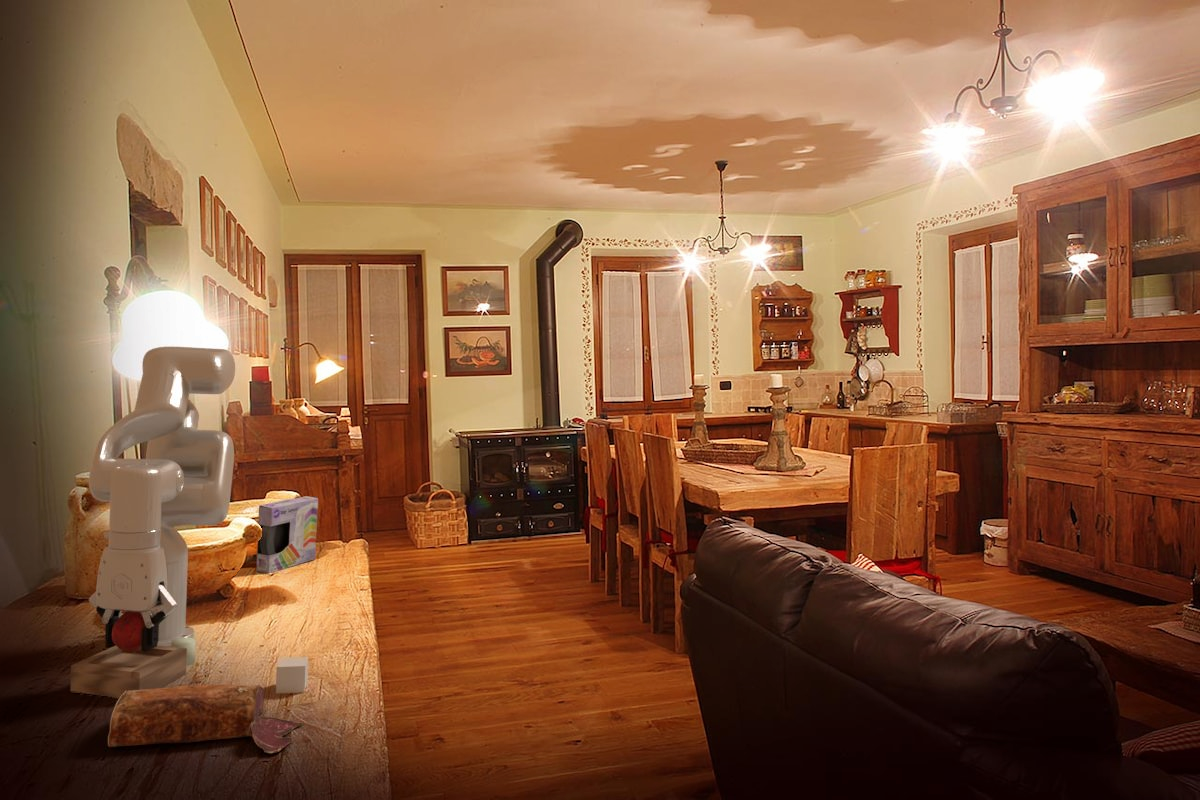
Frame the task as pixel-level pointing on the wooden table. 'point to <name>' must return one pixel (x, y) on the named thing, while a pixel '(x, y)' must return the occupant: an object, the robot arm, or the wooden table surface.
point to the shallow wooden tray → (128, 670)
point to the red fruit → (128, 631)
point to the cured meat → (196, 716)
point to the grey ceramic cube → (292, 675)
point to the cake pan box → (287, 533)
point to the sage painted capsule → (186, 643)
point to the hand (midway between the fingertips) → (131, 646)
